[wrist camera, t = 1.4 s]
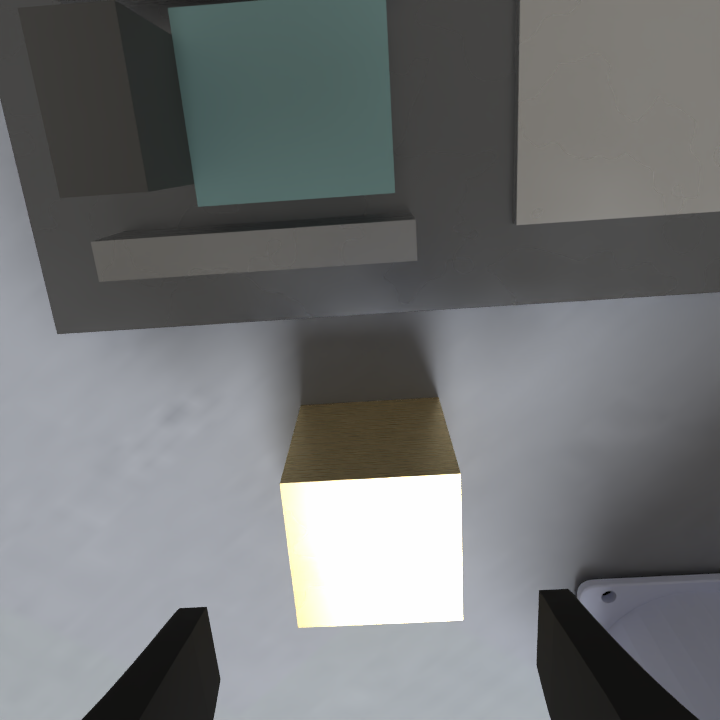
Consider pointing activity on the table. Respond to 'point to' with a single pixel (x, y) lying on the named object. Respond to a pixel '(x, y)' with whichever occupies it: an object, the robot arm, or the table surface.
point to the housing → (373, 514)
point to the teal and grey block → (216, 99)
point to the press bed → (426, 179)
